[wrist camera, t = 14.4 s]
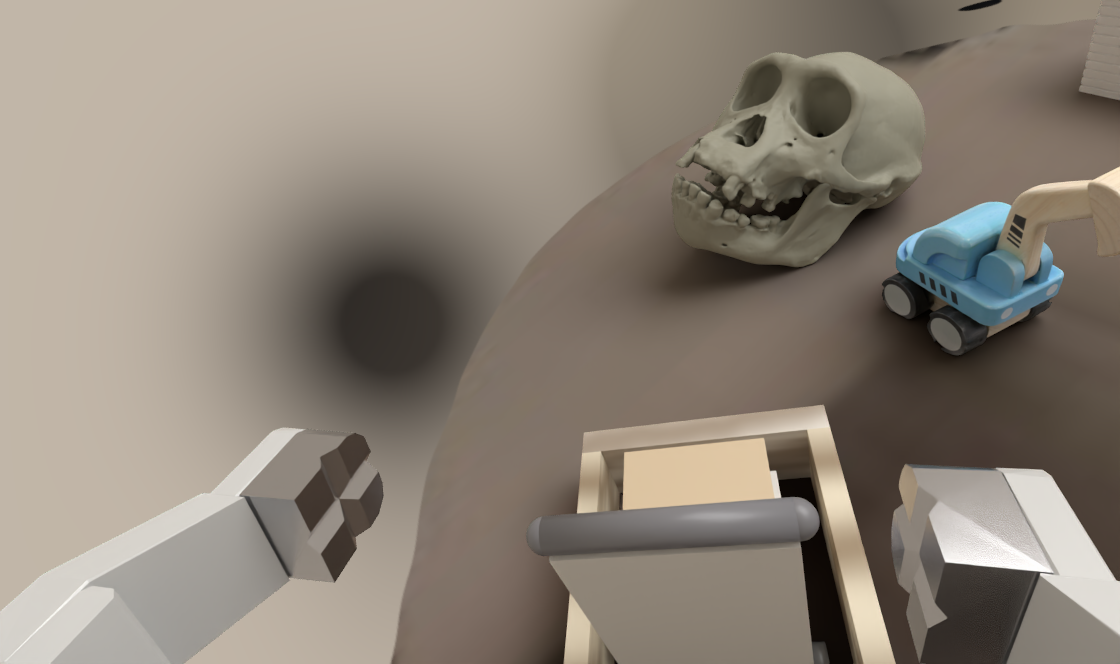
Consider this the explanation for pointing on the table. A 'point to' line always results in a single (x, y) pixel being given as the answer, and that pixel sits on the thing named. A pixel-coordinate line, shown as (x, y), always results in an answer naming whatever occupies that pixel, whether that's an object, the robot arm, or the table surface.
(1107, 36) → the long white block
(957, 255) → the toy excavator
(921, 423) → the table surface
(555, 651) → the table surface
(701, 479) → the trolley
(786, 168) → the skull
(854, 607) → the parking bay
